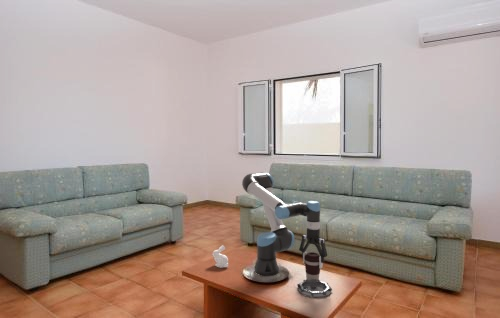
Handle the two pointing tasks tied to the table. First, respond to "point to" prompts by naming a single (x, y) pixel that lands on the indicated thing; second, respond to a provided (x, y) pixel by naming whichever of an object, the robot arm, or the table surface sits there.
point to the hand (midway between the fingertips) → (312, 265)
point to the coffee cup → (312, 266)
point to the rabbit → (220, 258)
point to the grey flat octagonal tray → (314, 288)
